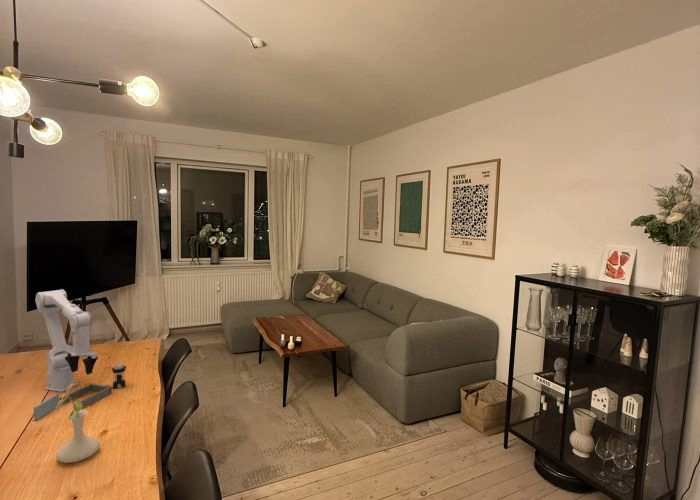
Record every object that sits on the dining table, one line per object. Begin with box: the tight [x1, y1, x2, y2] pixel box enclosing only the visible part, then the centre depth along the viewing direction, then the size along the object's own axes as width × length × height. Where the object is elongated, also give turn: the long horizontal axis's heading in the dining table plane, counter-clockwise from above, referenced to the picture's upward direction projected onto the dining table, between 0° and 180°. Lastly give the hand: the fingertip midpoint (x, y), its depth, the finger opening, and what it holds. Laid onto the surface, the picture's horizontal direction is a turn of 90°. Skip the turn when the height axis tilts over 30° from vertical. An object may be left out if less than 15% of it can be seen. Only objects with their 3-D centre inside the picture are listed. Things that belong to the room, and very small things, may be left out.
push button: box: [108, 363, 127, 390], centre depth 165 cm, size 7×5×10 cm
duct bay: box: [59, 383, 113, 410], centre depth 154 cm, size 11×14×3 cm
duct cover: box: [33, 392, 60, 421], centre depth 142 cm, size 12×1×5 cm, turn 2°
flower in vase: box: [54, 384, 101, 464], centre depth 116 cm, size 13×11×25 cm
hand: (81, 372), depth 155 cm, fingers open, 7 cm apart
